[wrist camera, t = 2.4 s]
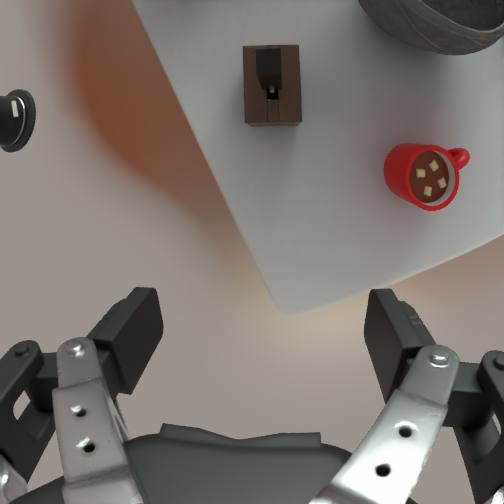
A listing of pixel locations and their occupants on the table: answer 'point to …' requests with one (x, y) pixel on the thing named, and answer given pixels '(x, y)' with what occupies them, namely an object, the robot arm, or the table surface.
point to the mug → (425, 174)
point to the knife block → (257, 100)
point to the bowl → (440, 23)
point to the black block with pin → (269, 69)
